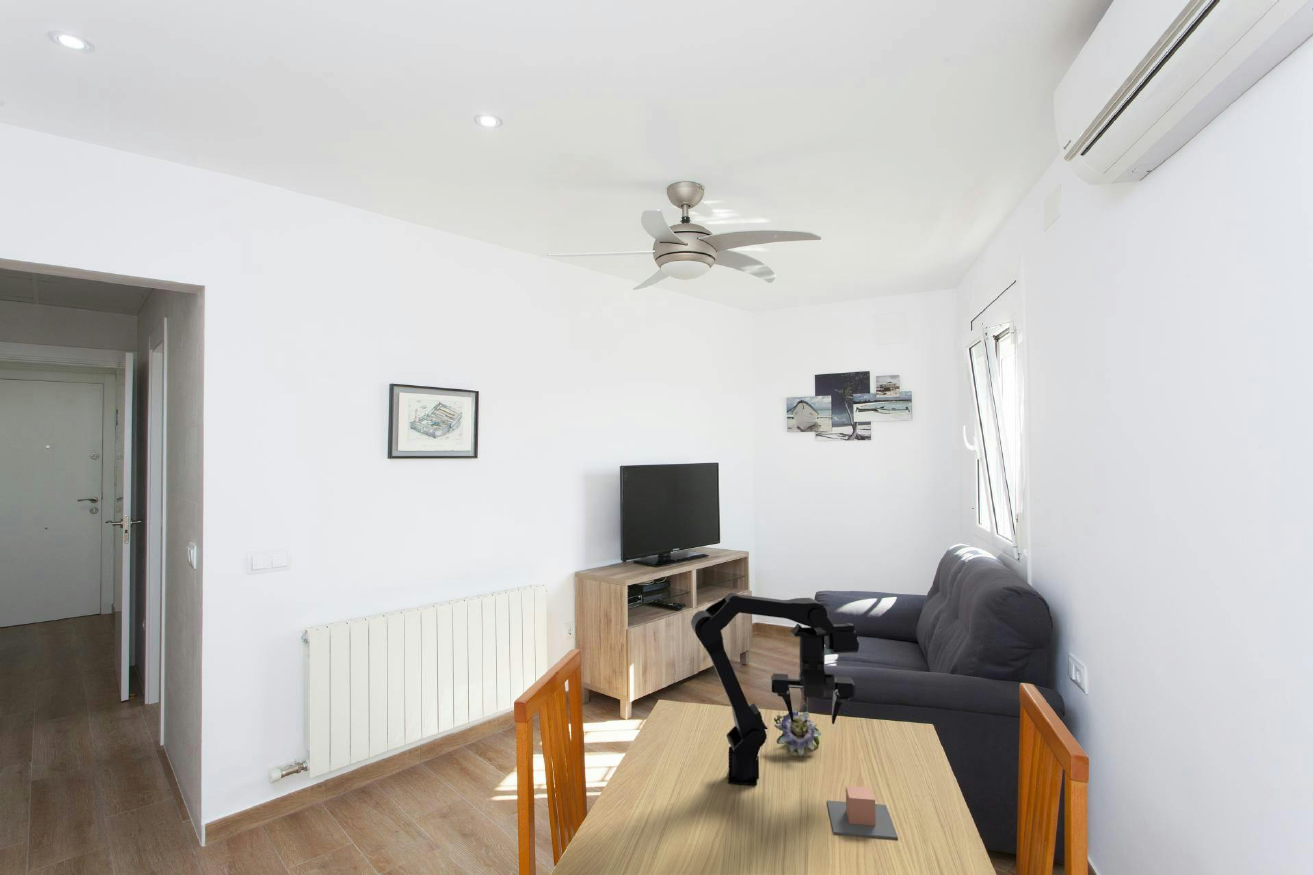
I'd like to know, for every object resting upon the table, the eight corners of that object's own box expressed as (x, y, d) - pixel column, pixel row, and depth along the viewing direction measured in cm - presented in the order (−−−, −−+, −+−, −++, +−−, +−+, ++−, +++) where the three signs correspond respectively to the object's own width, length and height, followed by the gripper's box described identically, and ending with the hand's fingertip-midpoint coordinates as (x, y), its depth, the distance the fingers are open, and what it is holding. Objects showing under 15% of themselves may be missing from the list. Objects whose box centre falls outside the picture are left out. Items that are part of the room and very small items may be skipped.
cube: (849, 823, 131) (849, 797, 131) (846, 810, 136) (845, 785, 136) (875, 825, 130) (875, 799, 130) (871, 812, 135) (870, 787, 135)
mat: (833, 833, 128) (833, 831, 128) (827, 802, 140) (827, 800, 140) (898, 839, 126) (898, 837, 126) (885, 806, 138) (885, 804, 138)
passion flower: (800, 777, 162) (778, 744, 158) (779, 750, 172) (758, 718, 169) (835, 748, 164) (815, 714, 160) (812, 723, 174) (792, 691, 171)
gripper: (772, 662, 146) (772, 734, 146) (858, 667, 143) (859, 739, 143) (771, 648, 157) (771, 714, 157) (851, 652, 154) (852, 719, 154)
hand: (812, 722), depth 152 cm, fingers open, 9 cm apart
